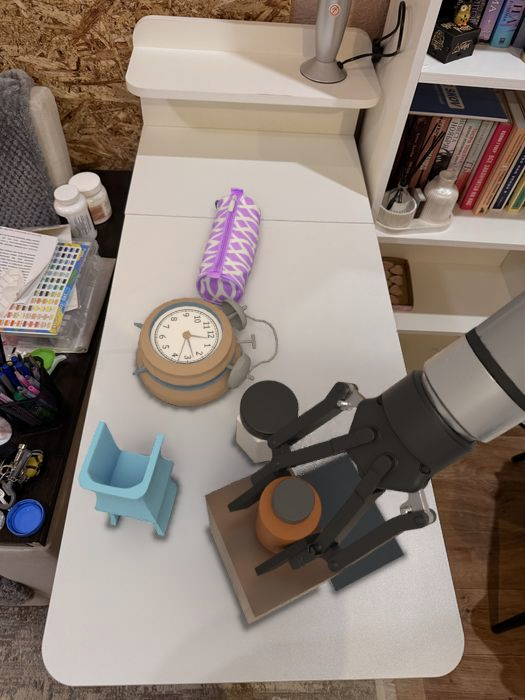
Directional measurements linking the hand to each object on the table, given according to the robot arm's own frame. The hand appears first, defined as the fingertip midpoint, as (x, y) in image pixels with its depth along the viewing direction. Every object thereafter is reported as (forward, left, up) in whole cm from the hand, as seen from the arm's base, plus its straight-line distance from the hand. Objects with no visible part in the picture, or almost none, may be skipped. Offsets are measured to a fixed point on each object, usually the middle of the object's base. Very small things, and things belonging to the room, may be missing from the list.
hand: (251, 536), depth 50 cm
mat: (0, -16, -24) cm, 29 cm away
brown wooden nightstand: (0, -3, -24) cm, 24 cm away
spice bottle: (0, -4, -2) cm, 4 cm away
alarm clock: (+32, -8, -24) cm, 41 cm away
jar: (+16, -11, -24) cm, 31 cm away
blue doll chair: (+14, +9, -24) cm, 30 cm away
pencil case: (+50, -20, -24) cm, 59 cm away
